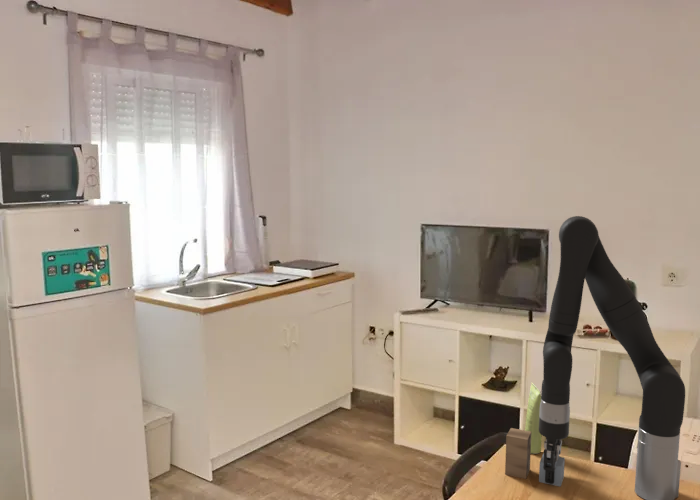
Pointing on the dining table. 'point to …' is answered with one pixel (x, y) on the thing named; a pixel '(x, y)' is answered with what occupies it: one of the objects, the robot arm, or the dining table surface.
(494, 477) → the dining table surface
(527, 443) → the tower upper
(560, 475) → the slate block
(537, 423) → the tube
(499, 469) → the dining table surface
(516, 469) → the tower lower
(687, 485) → the dining table surface
